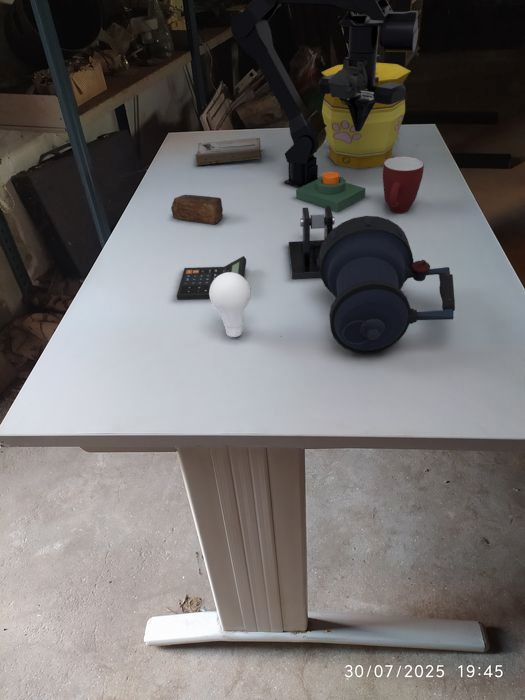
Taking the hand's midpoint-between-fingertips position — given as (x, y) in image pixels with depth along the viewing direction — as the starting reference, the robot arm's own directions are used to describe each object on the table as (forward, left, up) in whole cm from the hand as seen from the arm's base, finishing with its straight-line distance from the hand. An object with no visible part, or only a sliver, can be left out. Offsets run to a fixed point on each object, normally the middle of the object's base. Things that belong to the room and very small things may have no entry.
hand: (358, 130), depth 119 cm
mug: (+15, -5, -13) cm, 21 cm away
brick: (-17, -34, -13) cm, 40 cm away
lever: (+13, -30, -8) cm, 33 cm away
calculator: (+6, -50, -13) cm, 52 cm away
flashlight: (+36, -41, -13) cm, 56 cm away
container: (-11, +17, -13) cm, 24 cm away
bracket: (+15, -32, -13) cm, 38 cm away
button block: (-1, -8, -13) cm, 15 cm away
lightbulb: (+20, -58, -13) cm, 63 cm away
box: (-39, -4, -13) cm, 41 cm away
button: (-1, -8, -9) cm, 12 cm away
